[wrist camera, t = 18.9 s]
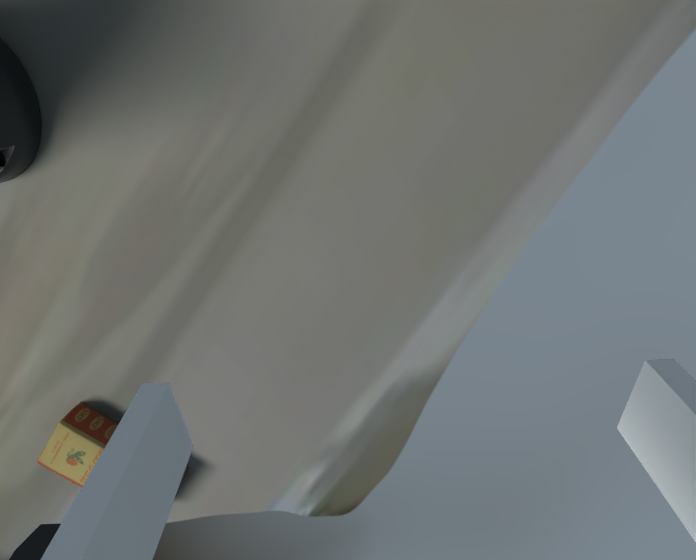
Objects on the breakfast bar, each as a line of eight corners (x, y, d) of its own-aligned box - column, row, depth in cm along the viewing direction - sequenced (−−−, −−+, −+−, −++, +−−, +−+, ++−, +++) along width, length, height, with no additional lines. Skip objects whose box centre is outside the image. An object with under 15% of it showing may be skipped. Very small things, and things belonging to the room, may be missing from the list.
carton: (82, 398, 52) (57, 422, 48) (192, 464, 54) (176, 492, 50) (59, 438, 55) (33, 463, 51) (164, 499, 57) (147, 528, 53)
